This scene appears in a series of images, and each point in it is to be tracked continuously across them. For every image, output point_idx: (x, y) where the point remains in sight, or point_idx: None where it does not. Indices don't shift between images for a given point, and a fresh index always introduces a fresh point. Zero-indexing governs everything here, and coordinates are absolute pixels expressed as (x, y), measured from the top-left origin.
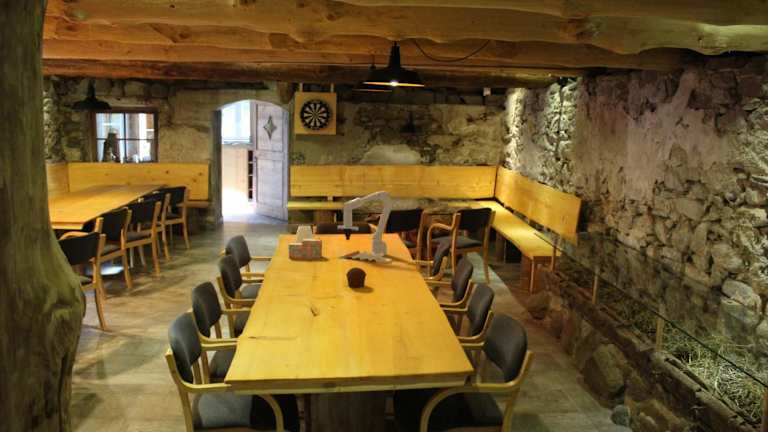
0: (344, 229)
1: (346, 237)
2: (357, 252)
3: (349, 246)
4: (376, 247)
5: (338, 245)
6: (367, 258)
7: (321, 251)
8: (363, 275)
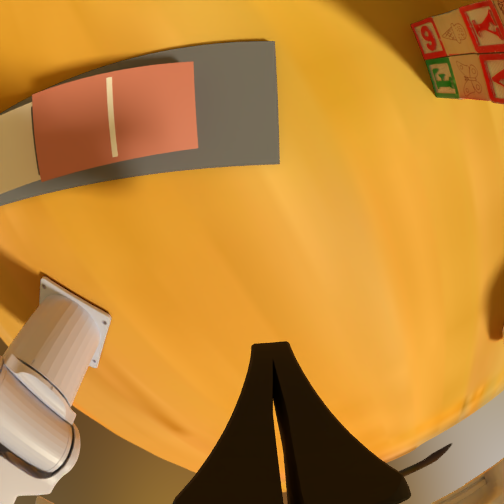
0: None
1: (287, 375)
2: (39, 133)
3: (344, 409)
4: (21, 333)
5: (400, 395)
6: (34, 191)
7: (463, 75)
8: None
